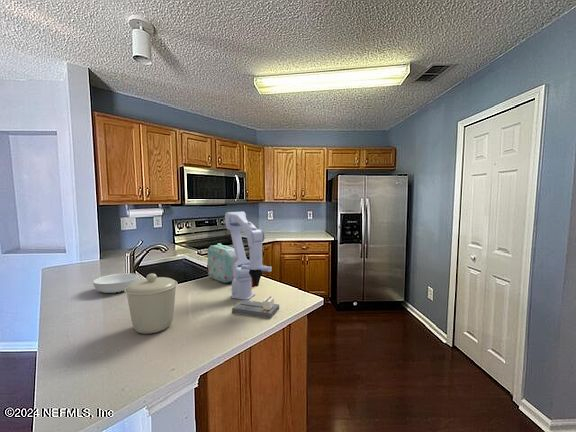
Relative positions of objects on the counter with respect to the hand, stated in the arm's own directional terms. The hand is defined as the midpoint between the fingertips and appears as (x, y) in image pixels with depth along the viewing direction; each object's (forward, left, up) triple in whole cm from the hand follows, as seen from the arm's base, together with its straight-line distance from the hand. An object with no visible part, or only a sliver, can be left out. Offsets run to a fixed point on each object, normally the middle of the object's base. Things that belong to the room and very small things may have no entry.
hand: (256, 285), depth 125 cm
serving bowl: (-82, -3, -10) cm, 83 cm away
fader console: (+2, -5, -9) cm, 11 cm away
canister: (-29, -31, -10) cm, 44 cm away
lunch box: (-38, +31, -10) cm, 50 cm away
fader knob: (+8, -5, -7) cm, 12 cm away
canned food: (-16, +27, -10) cm, 33 cm away
